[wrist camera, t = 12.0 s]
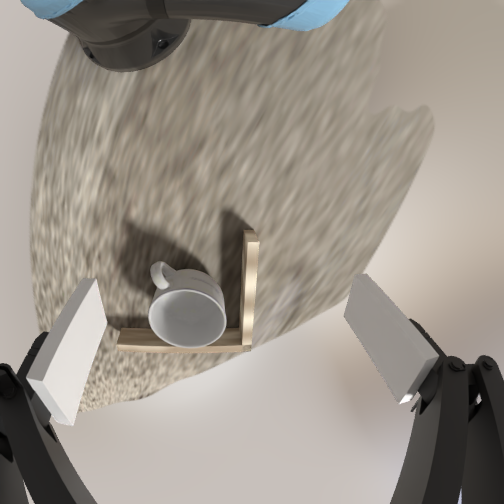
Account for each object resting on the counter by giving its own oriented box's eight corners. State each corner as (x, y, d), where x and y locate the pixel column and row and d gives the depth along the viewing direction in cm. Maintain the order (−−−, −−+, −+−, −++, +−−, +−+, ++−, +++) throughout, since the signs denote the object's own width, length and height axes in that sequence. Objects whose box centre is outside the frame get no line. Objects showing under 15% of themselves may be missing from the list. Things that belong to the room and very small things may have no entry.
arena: (102, 231, 37) (92, 243, 33) (253, 229, 41) (259, 242, 37) (123, 333, 46) (118, 350, 42) (247, 333, 49) (250, 351, 45)
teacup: (230, 308, 46) (235, 341, 39) (170, 323, 46) (166, 356, 39) (205, 233, 40) (205, 257, 33) (137, 252, 40) (124, 280, 33)
